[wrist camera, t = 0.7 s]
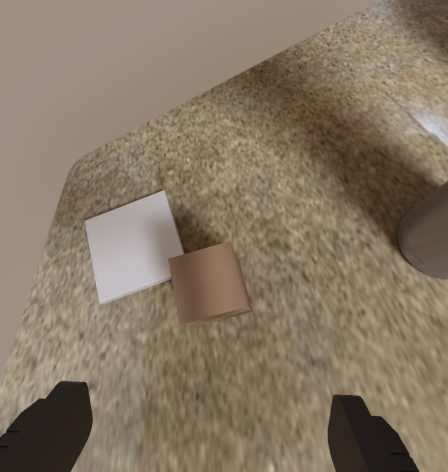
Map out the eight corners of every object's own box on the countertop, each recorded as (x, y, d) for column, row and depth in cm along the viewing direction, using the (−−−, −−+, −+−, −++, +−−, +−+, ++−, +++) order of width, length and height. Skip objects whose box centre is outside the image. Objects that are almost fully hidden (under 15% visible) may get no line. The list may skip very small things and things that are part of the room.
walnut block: (239, 263, 35) (229, 241, 25) (252, 311, 33) (247, 306, 24) (194, 276, 35) (167, 258, 26) (204, 324, 33) (180, 324, 24)
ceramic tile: (166, 193, 39) (164, 190, 39) (190, 271, 35) (188, 270, 35) (89, 223, 40) (84, 220, 39) (104, 304, 36) (99, 303, 35)
